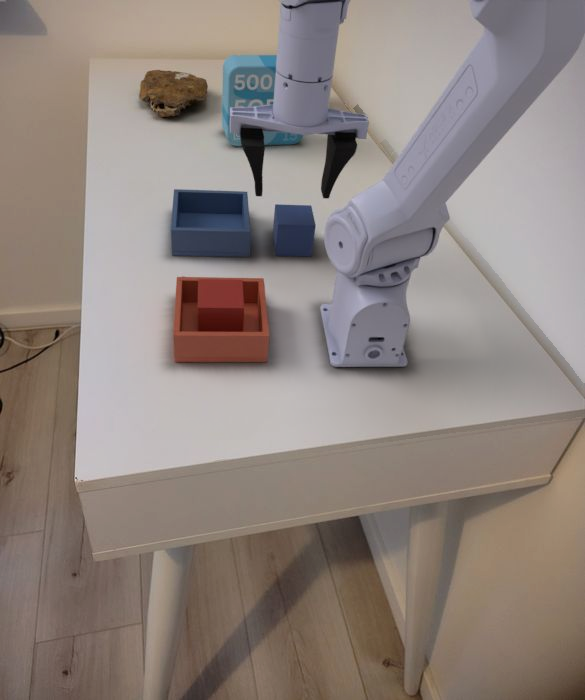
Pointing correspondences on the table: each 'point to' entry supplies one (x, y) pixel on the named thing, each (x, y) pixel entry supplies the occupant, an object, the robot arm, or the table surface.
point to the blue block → (293, 230)
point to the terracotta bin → (220, 344)
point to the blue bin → (210, 223)
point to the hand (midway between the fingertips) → (291, 192)
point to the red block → (220, 305)
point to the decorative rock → (171, 91)
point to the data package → (250, 93)
